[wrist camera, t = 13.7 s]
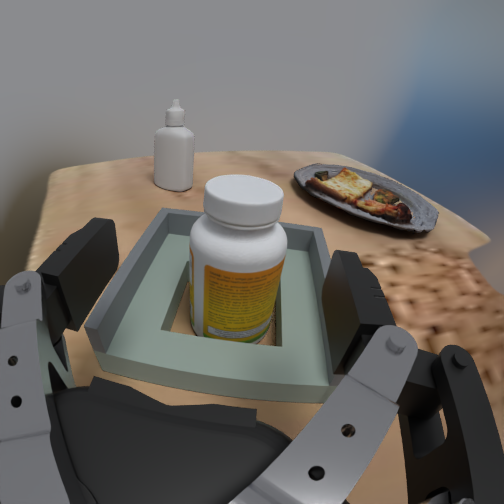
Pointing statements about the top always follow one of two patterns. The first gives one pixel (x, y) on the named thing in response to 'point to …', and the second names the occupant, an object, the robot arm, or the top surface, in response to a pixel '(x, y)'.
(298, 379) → the box
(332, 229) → the top surface
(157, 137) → the eye dropper bottle
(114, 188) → the top surface
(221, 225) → the supplement bottle
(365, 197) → the food plate
